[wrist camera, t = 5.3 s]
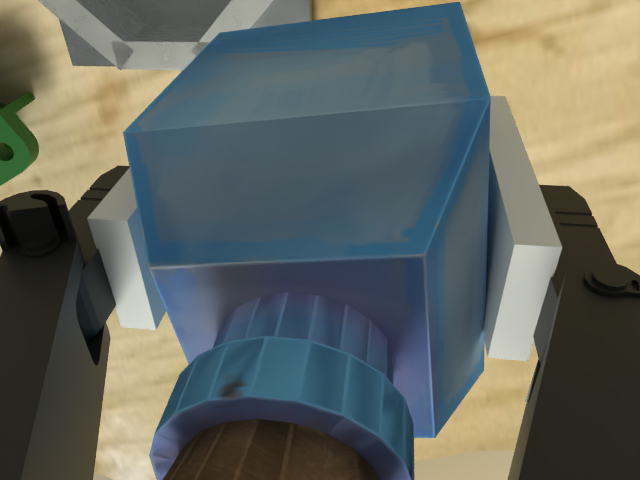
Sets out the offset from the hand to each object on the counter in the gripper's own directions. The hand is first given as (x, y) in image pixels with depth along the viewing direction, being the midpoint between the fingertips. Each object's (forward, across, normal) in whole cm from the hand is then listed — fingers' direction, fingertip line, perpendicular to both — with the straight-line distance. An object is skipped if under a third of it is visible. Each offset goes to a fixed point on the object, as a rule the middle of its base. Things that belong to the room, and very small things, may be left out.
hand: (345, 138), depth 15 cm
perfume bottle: (+1, 0, 0) cm, 1 cm away
